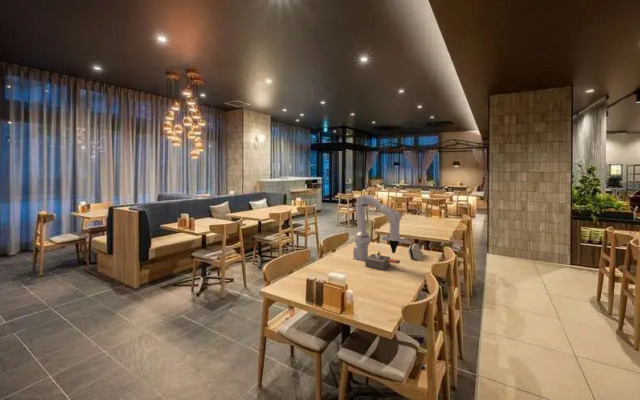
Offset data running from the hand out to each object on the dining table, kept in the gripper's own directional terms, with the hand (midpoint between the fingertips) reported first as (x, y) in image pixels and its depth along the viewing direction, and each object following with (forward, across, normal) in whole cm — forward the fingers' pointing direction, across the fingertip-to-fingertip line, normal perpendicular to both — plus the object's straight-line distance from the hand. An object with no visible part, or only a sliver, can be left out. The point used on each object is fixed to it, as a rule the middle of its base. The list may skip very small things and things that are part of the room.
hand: (393, 252), depth 191 cm
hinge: (+10, +6, +30) cm, 32 cm away
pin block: (+10, -10, -1) cm, 14 cm away
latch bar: (+6, 0, -1) cm, 6 cm away
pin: (+9, -10, -1) cm, 14 cm away
